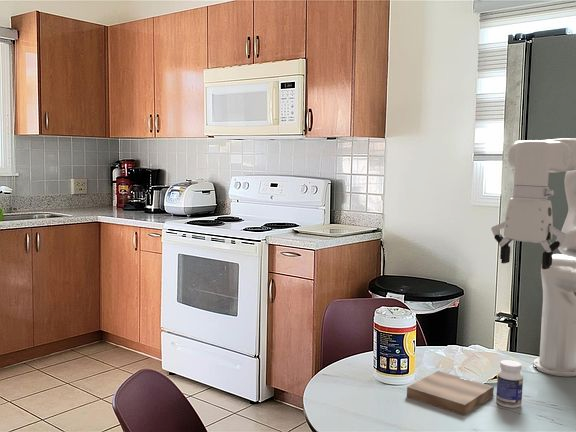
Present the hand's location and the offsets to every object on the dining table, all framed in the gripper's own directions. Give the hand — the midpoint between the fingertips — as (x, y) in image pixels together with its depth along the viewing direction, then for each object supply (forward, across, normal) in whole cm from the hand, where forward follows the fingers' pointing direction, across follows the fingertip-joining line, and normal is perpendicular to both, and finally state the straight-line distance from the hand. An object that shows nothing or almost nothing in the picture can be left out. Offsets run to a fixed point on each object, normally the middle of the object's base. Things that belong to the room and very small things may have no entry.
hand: (525, 265), depth 149 cm
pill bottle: (+33, 0, +4) cm, 33 cm away
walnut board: (+33, +12, +10) cm, 36 cm away
